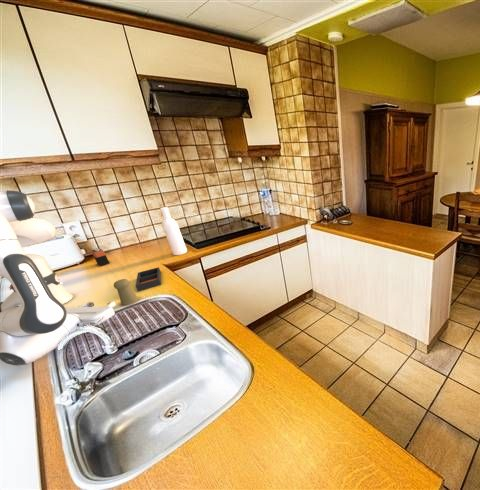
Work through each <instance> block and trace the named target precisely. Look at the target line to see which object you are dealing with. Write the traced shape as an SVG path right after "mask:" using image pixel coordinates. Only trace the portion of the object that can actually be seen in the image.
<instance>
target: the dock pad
mask: <svg viewBox="0 0 480 490" xmlns="http://www.w3.org/2000/svg"><path fill="white" fill-rule="evenodd" d="M161 285H162V270H161V269H160V267H159V266H158V267H154V268H150V269H145V270H143V271H139V272H137V275H136V281H135V288H136V290H137V292H140V291H144V290H147V289H152V288H154V287H158V286H161Z"/></svg>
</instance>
